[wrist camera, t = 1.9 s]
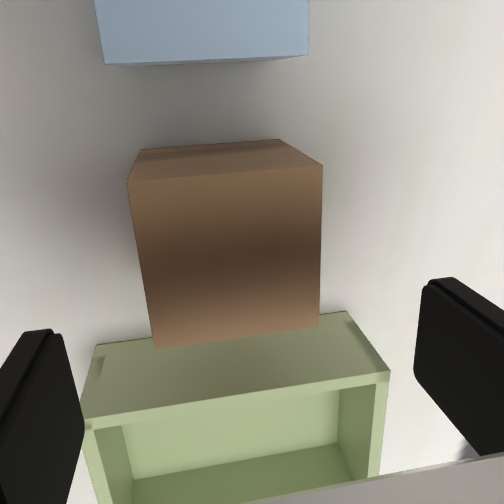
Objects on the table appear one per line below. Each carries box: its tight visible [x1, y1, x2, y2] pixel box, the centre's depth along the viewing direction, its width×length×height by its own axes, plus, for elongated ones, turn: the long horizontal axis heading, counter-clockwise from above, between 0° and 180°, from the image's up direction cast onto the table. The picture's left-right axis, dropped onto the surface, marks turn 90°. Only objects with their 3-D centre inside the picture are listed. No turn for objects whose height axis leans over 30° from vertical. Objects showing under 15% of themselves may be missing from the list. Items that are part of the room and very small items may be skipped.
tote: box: [80, 311, 390, 504], centre depth 21 cm, size 9×13×5 cm
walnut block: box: [126, 139, 323, 350], centre depth 16 cm, size 6×6×6 cm
